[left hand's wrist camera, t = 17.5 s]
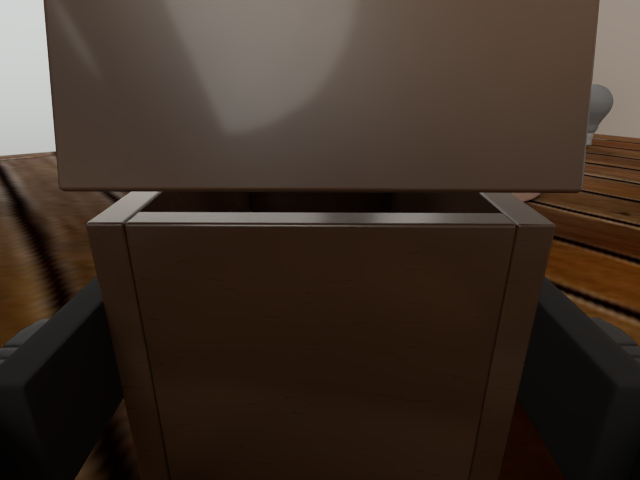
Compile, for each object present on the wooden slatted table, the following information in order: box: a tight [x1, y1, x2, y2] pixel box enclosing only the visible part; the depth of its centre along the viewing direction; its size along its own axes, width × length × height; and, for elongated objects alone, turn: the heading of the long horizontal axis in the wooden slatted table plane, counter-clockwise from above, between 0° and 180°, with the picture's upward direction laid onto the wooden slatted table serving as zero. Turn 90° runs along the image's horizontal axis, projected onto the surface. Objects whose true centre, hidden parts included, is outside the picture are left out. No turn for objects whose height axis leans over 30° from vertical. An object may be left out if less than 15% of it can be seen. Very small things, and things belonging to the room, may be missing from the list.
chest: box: [86, 192, 556, 480], centre depth 18 cm, size 16×10×10 cm, turn 0°
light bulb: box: [586, 85, 613, 146], centre depth 73 cm, size 6×6×10 cm
